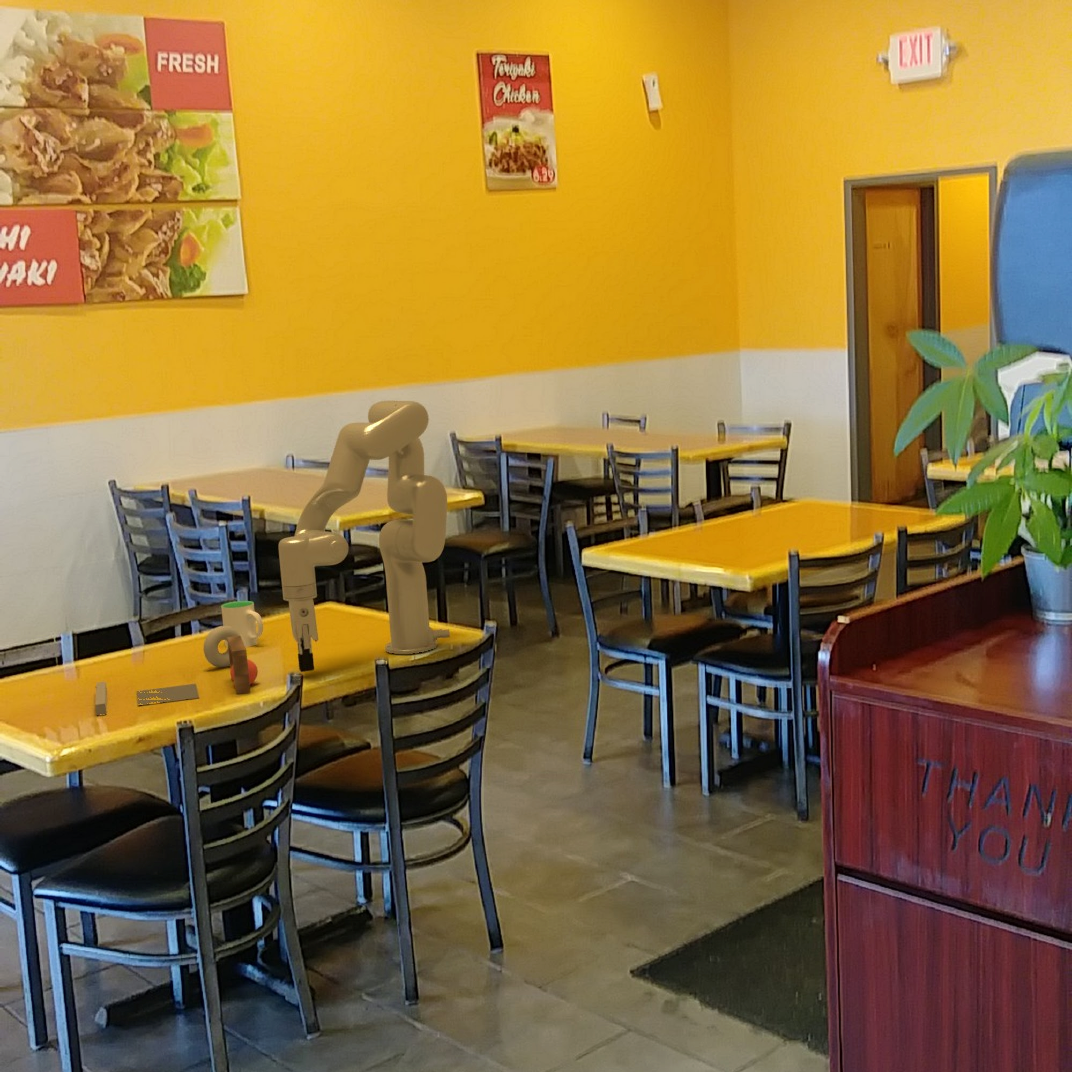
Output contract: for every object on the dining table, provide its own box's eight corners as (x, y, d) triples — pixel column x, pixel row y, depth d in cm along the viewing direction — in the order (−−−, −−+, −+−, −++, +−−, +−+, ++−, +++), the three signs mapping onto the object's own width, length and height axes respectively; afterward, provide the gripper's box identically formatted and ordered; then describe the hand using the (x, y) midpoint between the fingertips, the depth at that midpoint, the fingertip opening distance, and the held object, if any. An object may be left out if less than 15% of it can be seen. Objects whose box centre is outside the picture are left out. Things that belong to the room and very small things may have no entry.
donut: (210, 672, 331) (205, 631, 330) (202, 670, 334) (198, 629, 332) (247, 663, 338) (243, 622, 336) (239, 661, 340) (235, 621, 339)
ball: (243, 687, 320) (261, 667, 321) (246, 693, 315) (264, 673, 315) (223, 670, 318) (241, 651, 319) (225, 676, 313) (244, 656, 313)
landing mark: (195, 684, 321) (195, 683, 321) (199, 698, 308) (199, 697, 308) (136, 692, 317) (136, 691, 317) (137, 706, 305) (137, 705, 305)
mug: (275, 643, 358) (271, 602, 356) (253, 650, 351) (249, 609, 349) (241, 639, 364) (237, 600, 362) (218, 646, 357) (214, 606, 356)
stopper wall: (107, 692, 319) (105, 681, 318) (106, 714, 300) (105, 703, 300) (97, 693, 318) (96, 682, 318) (96, 716, 299) (95, 704, 299)
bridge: (244, 676, 325) (240, 635, 323) (250, 692, 310) (246, 649, 309) (231, 678, 324) (227, 637, 322) (236, 694, 310) (232, 651, 308)
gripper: (320, 595, 312) (327, 675, 315) (311, 584, 326) (318, 661, 329) (286, 599, 310) (294, 680, 313) (279, 587, 324) (286, 665, 327)
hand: (306, 670), depth 321 cm, fingers closed
